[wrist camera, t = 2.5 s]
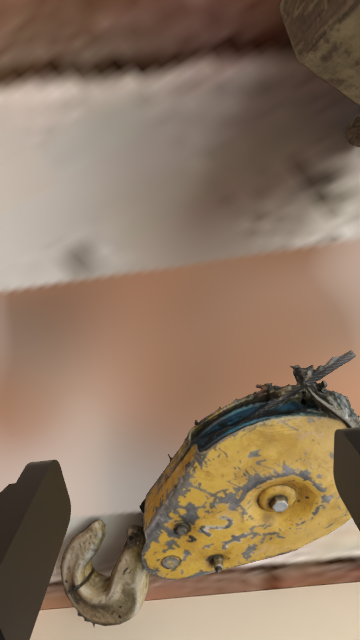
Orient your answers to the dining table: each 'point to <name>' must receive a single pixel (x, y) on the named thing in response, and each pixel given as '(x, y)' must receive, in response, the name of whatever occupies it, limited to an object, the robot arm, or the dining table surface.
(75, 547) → the pulley block
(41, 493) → the robot arm
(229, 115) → the dining table surface
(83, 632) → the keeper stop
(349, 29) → the tabletop clock
